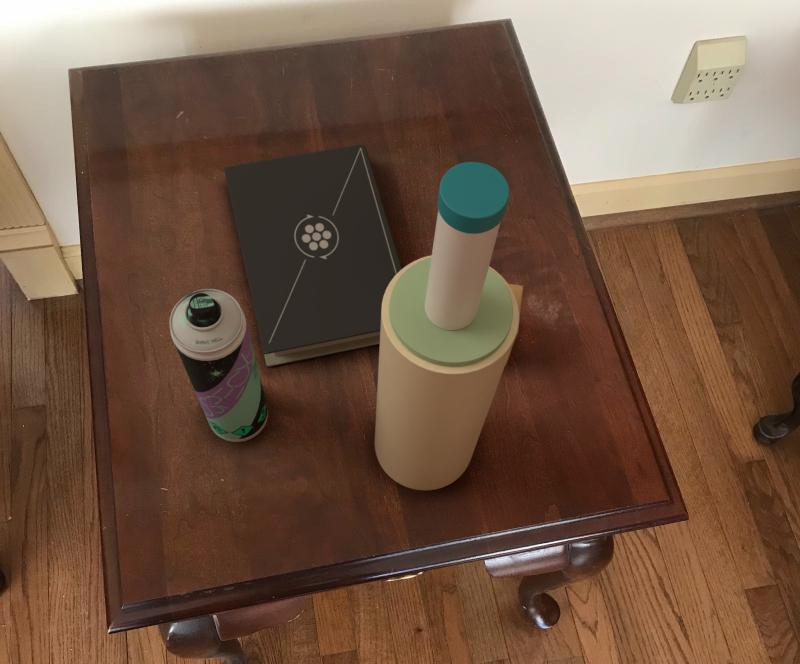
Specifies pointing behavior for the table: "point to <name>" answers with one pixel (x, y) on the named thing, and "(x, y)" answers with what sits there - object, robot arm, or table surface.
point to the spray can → (220, 362)
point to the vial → (464, 242)
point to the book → (313, 251)
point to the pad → (449, 344)
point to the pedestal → (431, 406)
